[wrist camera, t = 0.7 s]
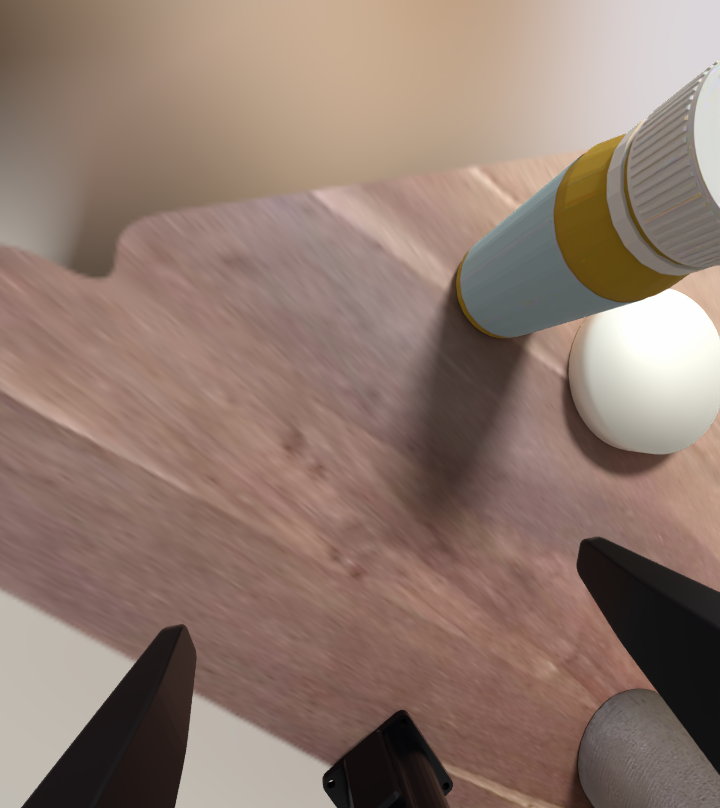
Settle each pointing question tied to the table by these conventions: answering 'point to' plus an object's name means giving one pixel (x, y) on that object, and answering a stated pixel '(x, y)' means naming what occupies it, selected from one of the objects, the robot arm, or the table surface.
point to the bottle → (606, 224)
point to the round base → (647, 374)
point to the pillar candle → (644, 757)
